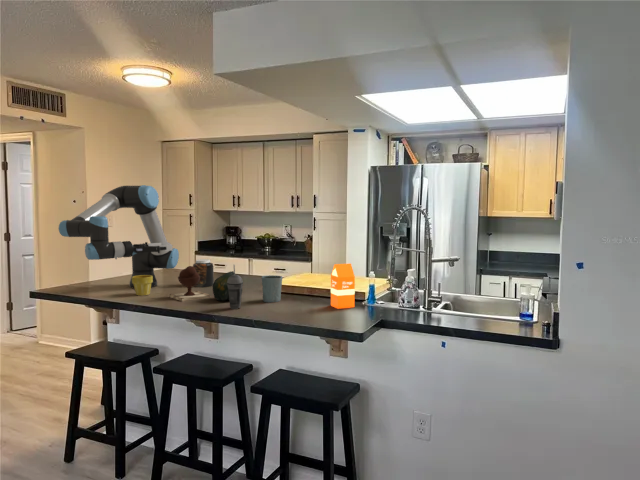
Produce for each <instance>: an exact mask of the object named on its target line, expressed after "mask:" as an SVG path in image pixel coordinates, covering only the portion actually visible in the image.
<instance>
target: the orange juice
mask: <svg viewBox="0 0 640 480" xmlns="http://www.w3.org/2000/svg"><path fill="white" fill-rule="evenodd" d="M355 280H356V277H355V273H354V269H353V266H352V263H351V262H350V263H335V264H333V268H332V272H331V274H330V306H331V307H332V308H333V307H334V308H335V309H339V310H340V309H348V308H349V309H350V308H355V294H356V290H355V285H356V284H355V282H356V281H355Z"/></svg>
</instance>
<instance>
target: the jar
mask: <svg viewBox="0 0 640 480" xmlns="http://www.w3.org/2000/svg"><path fill="white" fill-rule="evenodd" d="M192 266H193V267H194V268H195V269H196V272H197V273H198V274H199V276H200V280H199V282H198V283H197V284H196V285H195V286H194V287H195V288H196V287H197V288H207V287H213V284H214V281H215V278H214V275H215V274H214V264H213V263H212V262H211V259H208V258H207V259H206V258H205V259H204V258H202V259H196V260H195V263H193V264H192Z"/></svg>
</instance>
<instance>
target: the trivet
mask: <svg viewBox="0 0 640 480" xmlns="http://www.w3.org/2000/svg"><path fill="white" fill-rule="evenodd" d="M192 292H193V293H194V294H195V295H193V296H184V294H185V293H186V292H182V293H170V294H169V298H172V299H174V300H178V301H179V302H188V301H195V300H204V299H210V298H211V295H210V294H209V293H204V292H202V291H199V290H195V291H192Z"/></svg>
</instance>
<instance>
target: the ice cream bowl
mask: <svg viewBox="0 0 640 480" xmlns="http://www.w3.org/2000/svg"><path fill="white" fill-rule="evenodd" d="M177 279H178V282H179V283H180V285H182V286H184V287H187V292H184V293H185V294H184V296H193V295H195V294H194V293H193V292H194V291H192V288H193V287H195V285H196V284H197V283H198V282H199V280H200V276H199V274H198V273H197V272H196V269H195V268H194V267H193V265H189V266H186V267H185V268H184V269H181V271H180V272H179V275H178V276H177Z"/></svg>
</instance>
